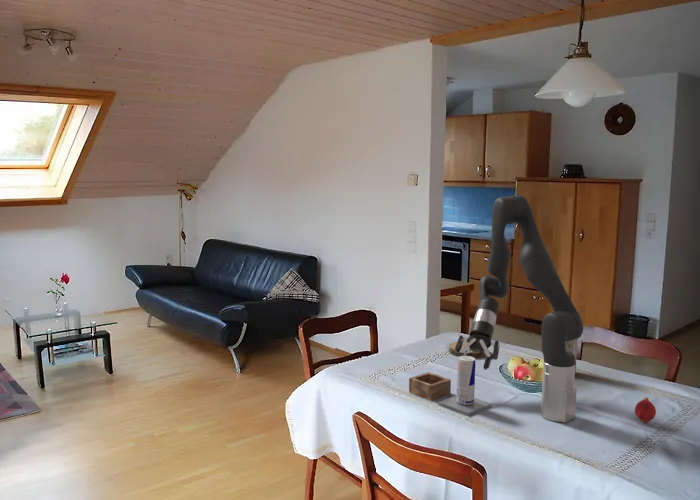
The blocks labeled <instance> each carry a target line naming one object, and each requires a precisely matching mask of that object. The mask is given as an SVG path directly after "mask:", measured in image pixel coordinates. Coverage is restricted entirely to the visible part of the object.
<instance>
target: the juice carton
mask: <svg viewBox="0 0 700 500" xmlns="http://www.w3.org/2000/svg"><path fill="white" fill-rule="evenodd" d="M578 339H579V338H578ZM578 339H575V340H570V341H565V348H566V351H568V352H571V353H573V354H574V355H575V373H577V357H578V356H577V355H578Z"/></svg>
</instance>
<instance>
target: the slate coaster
mask: <svg viewBox="0 0 700 500" xmlns="http://www.w3.org/2000/svg"><path fill="white" fill-rule="evenodd" d="M438 406H440V407H443V408H446V409H449V410H451V411H453V412H456V413H459V414H460V415H463V416H467V417H469V416H473V414H476V413H478V412H481V411H483V410H486V409H489V408H491V407H492V403H491V402H488V401H485V400H482V399H479V398H476V397H474V403H473V404H471V405H462V404H459V403H458V402H457V394H456V395H453V396H450V397H448V398H445V399H443V400H440V401H438Z"/></svg>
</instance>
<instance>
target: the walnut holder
mask: <svg viewBox="0 0 700 500" xmlns="http://www.w3.org/2000/svg"><path fill="white" fill-rule="evenodd" d="M408 379H409V380H408V393H410V394H412V395H415V396H418V397H420V398H423V399H426V400H428V401H434V400H437V399H439V398H441V397H445V396H447V395H450V394H451V391H452V388H451V387H452V386H451V385H452V380H451V379H450V378H447V377H445V376H441V375H438V374H436V373H433V372H425V373H421V374H418V375H415V376H412V377H409V378H408Z"/></svg>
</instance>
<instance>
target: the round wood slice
mask: <svg viewBox="0 0 700 500" xmlns="http://www.w3.org/2000/svg"><path fill="white" fill-rule="evenodd" d="M457 342H458V341H453V342H451V343H450V344H449V347H448V348H449V349H448V351H449V354H451V355H452V356H455V357H457V358H458V356H459V354H457V353H456V350H455V347H456V344H457ZM466 344H467V342H465V343H464V344H463V345H462V348H463V347H464V346H465V345H466ZM462 348H461V349H462ZM464 356H471V357H474V358H475V359H481V358H485V357H487V356H486V355H485V353H484V352H482V353H479V352H473V351H471V352H469V353H467V354H465V355H464ZM484 356H485V357H484Z"/></svg>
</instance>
